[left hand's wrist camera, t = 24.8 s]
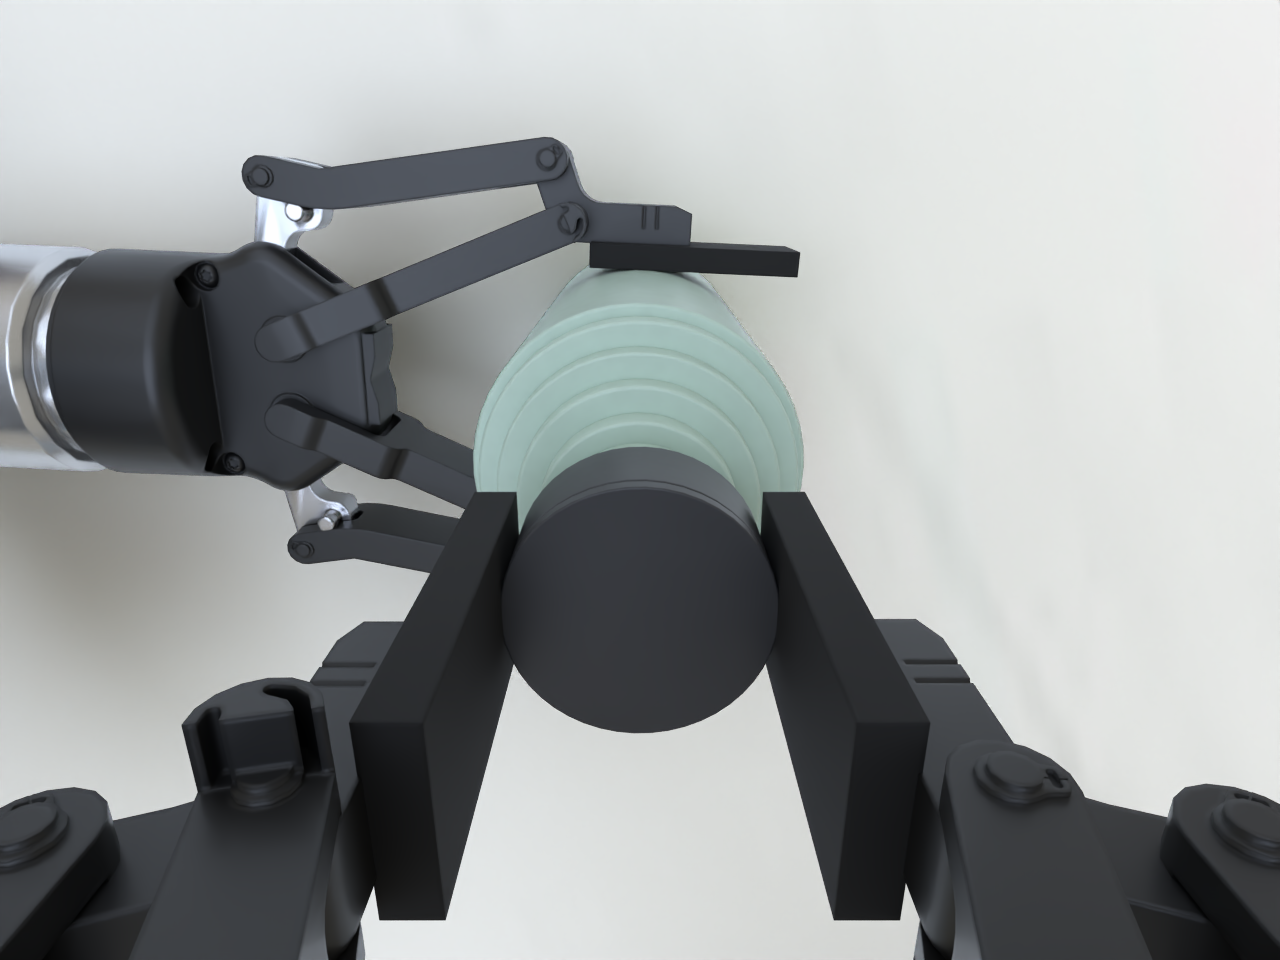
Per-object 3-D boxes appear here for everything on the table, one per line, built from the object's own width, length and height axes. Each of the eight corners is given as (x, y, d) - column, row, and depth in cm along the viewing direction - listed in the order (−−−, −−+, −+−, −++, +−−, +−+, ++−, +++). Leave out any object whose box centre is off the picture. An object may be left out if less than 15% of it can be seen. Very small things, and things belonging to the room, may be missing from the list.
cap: (647, 394, 13) (648, 428, 11) (810, 568, 15) (837, 625, 13) (467, 554, 14) (441, 610, 13) (632, 705, 16) (631, 777, 14)
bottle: (720, 236, 32) (857, 316, 12) (742, 423, 34) (882, 742, 15) (527, 267, 32) (347, 396, 12) (564, 450, 35) (465, 795, 15)
